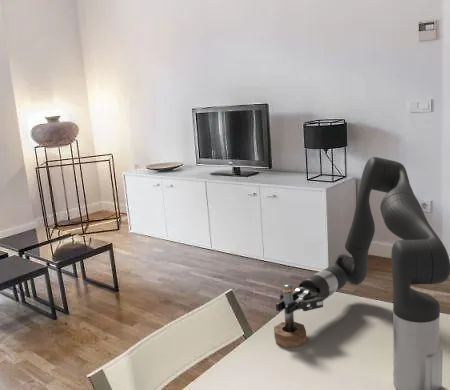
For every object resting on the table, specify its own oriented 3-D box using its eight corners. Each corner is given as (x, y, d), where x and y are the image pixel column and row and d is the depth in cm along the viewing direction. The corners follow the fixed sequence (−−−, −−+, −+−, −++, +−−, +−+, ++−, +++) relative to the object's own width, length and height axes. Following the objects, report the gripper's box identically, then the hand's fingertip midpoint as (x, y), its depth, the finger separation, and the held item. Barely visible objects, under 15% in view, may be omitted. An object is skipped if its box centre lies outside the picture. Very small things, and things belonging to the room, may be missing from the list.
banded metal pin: (296, 333, 131) (294, 284, 128) (291, 337, 129) (288, 288, 126) (289, 330, 133) (286, 282, 130) (283, 334, 131) (280, 285, 128)
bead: (311, 337, 131) (311, 327, 131) (293, 350, 126) (293, 339, 125) (287, 328, 137) (286, 319, 136) (269, 340, 131) (268, 330, 131)
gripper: (298, 269, 143) (260, 289, 131) (340, 279, 134) (303, 302, 122) (299, 293, 145) (261, 315, 133) (340, 305, 135) (304, 330, 123)
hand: (281, 309), depth 127 cm, fingers closed on banded metal pin, 2 cm apart
